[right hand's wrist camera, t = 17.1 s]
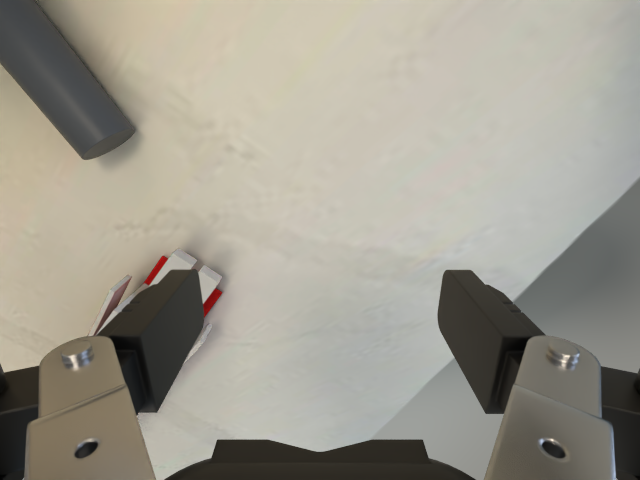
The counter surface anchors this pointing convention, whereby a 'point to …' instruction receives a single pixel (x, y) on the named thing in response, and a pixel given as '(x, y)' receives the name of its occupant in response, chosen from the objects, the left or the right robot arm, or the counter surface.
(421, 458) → the right robot arm
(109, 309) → the toy
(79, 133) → the rod
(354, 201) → the counter surface
